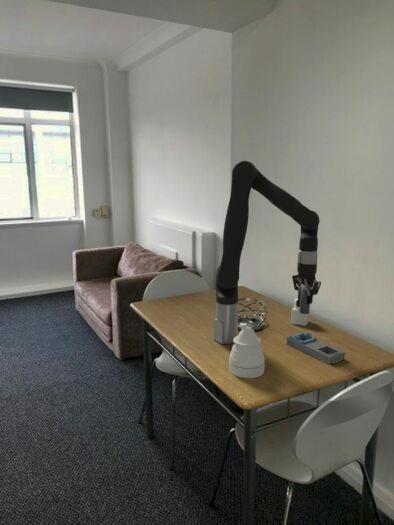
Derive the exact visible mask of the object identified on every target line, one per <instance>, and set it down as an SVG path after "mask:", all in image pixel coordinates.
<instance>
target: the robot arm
mask: <svg viewBox="0 0 394 525" xmlns="http://www.w3.org/2000/svg"><path fill="white" fill-rule="evenodd" d="M231 171H232V172H231V189H230V196H229V200H228V201H229V202H228V205H227V209H226V214H225V218H224V226H223V233H222V256H221V261H220V265H219V266H218V267H217V268H216V269H217V270H216V273H215V274H216V275H215V276H216V277H215V278H216V279H215V280H216V281H215V306H216V307H215V318H214V319H213V340H214V341H216V342H217V343H218V344H221V345H224V344H225V345H226V344H227V345H230V344H234V341H233V339H234V338H235V337H236V336H238V322H239V319H238V318H239V281H240V265H241V257H242V252H243V248H244V244H245V240H246V235H247V230H248V227H249V226H248V225H249V215H250V211H249V210H250V206H249V205H250V204H249V202H250V200H249V199H250V196H251V195H250V194H251V189H252V190H254V191H256V192H258V193H259V194H260V195H262V196H263V197H264V198H266V200H268V202H270V203H271V204H272V205H273V206H275V207H276V208H277V209H278V210H279V211H281V212H283V213H284V214H285V215H287V216H288V217H289V218H291V219H292V220H293V221H294V222H295V223H296V224H298V225H299V226H300V237H299V247H298V254H297V266H296V268H297V270H296V271H297V274H293V275H292V276H291V277H292V284H293V288H294V290H295V291H297V298H298V301H300V293H301V284H304V285H305V287H306V290H307V294H308V295H307V304H308V305H309V304H310V305H312V303H313V301H314V300H313V299H314V296H316V295H318V293H319V292H320V291H319V290H320V289H321V286H322V282H321V281H319V280H317V279H316V274H317V272H318V271H317V270H318V259H319V258H318V248H319V247H318V246H319V238H318V231H319V225H320V216H319V215H318V213H317V212H316V211H315V210H311V209H310V208H308V207H307V206H306V205H304V204H303V203H301V201H300V200H299V199H297V198H296V197H294V196H293V195H292V194H290V193H289V192H288V191H286V190H284V189H283V188H281V187H279V186H278V185H277V184H275V183H273V182H272V181H271V180H270V179H268V178H267V177H266V176H265V175H264V174H262V173H261V171H259V169H257V168H256V165H254V164H253V163H252V162H251V161H248V160H240V161H238V162H236V163H235V165H233V167H232V170H231ZM310 286H311V287H310ZM309 287H310V288H309ZM310 290H311V292H310Z"/></svg>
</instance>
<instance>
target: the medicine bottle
mask: <svg viewBox="0 0 394 525" xmlns="http://www.w3.org/2000/svg"><path fill="white" fill-rule="evenodd" d="M299 310H300V301H298V297H295V298H294V305H293V307H292V309H291V314H290V315H291V317H290V325H296V326H303V327H306V326H307V324H308V323H309V320H310V313H309V314H302V313H300V312H299Z"/></svg>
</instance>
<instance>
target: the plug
mask: <svg viewBox="0 0 394 525" xmlns="http://www.w3.org/2000/svg"><path fill="white" fill-rule="evenodd" d="M310 287H311V286H310ZM310 287H309V288H310ZM310 292H311V290H310ZM307 295H308V294H307V290H306V287H305V285H304V284H301V293H300V310H299V312H300V313H302V314H309V315H310V307H311V304H309V305H308V304H307Z"/></svg>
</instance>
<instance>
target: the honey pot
mask: <svg viewBox="0 0 394 525" xmlns="http://www.w3.org/2000/svg"><path fill="white" fill-rule="evenodd" d="M239 328H240V329H241V330H240V331H239V333H238V334H237V336H236V337H235V338H234V339H233V341H234V343H233V345H232V348H231V351H230V354H229V360H228V361H229V362H228V370H229V372H230V374H232V375H234V376H235V377H239V378H244V379H255V378H258V377H260V376H263V374H264V372H265V360H266V359H265V355H264V351H263V348H262V346H261V343H262V340H261V338H260V337H258V336H257V333H256V332H255V330H254V329H253V328H252V327H250V326H247V323H245V322H240V323H239Z"/></svg>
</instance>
